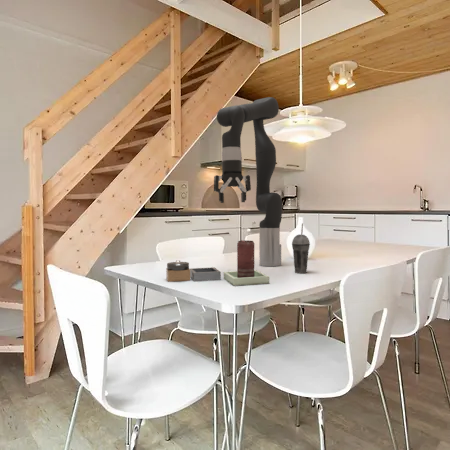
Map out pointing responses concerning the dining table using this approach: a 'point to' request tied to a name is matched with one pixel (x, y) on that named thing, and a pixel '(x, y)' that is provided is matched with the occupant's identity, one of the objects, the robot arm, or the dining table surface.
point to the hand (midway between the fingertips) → (232, 202)
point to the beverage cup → (300, 252)
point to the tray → (246, 279)
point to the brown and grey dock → (190, 272)
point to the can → (245, 259)
